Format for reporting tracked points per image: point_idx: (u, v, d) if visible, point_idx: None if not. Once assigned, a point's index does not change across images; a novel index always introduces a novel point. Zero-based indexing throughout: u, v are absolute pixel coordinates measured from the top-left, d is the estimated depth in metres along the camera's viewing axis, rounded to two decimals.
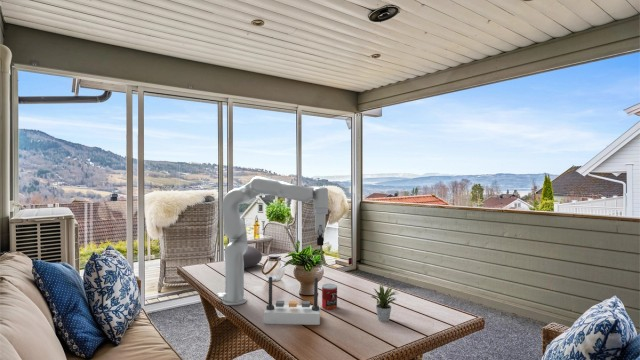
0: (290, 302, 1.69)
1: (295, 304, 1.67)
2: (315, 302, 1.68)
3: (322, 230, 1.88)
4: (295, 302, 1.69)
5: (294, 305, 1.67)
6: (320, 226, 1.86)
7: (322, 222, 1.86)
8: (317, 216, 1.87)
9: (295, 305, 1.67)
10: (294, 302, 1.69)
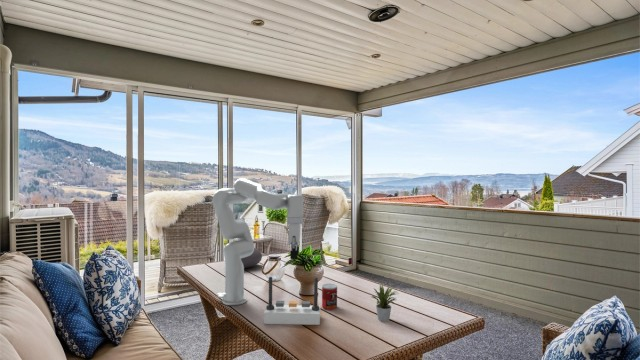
0: (290, 302, 1.69)
1: (295, 304, 1.67)
2: (315, 302, 1.68)
3: (296, 242, 1.70)
4: (295, 302, 1.69)
5: (294, 305, 1.67)
6: (294, 238, 1.68)
7: (296, 233, 1.69)
8: (290, 226, 1.69)
9: (295, 305, 1.67)
10: (294, 302, 1.69)
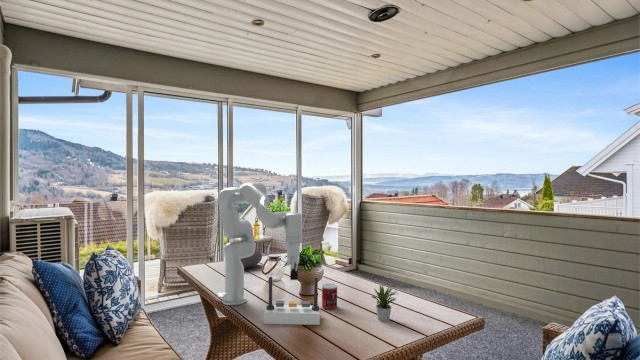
0: (290, 302, 1.69)
1: (295, 304, 1.67)
2: (315, 302, 1.68)
3: (295, 263, 1.66)
4: (295, 302, 1.69)
5: (294, 305, 1.67)
6: (293, 261, 1.64)
7: (295, 253, 1.64)
8: (289, 246, 1.64)
9: (295, 305, 1.67)
10: (294, 302, 1.69)
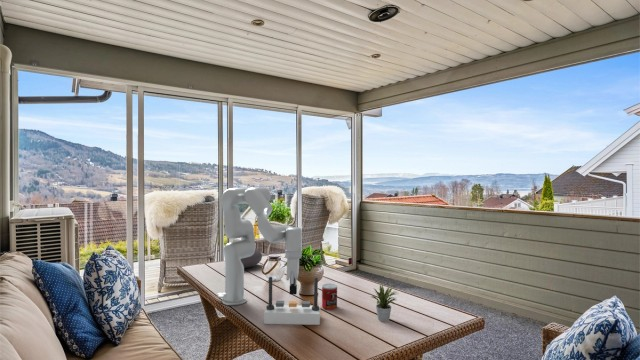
0: (290, 302, 1.69)
1: (295, 304, 1.67)
2: (315, 302, 1.68)
3: (295, 278, 1.67)
4: (295, 302, 1.69)
5: (294, 305, 1.67)
6: (292, 276, 1.64)
7: (294, 268, 1.64)
8: (289, 261, 1.64)
9: (295, 305, 1.67)
10: (294, 302, 1.69)
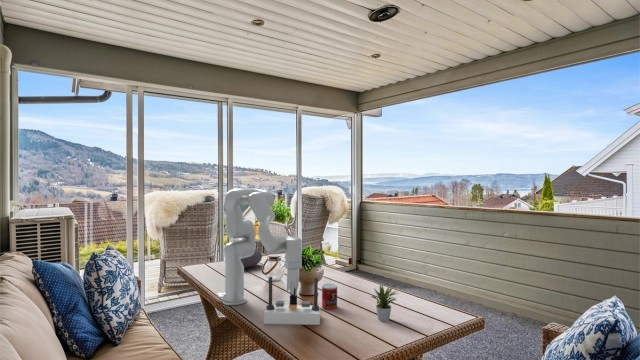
0: None
1: (295, 306, 1.67)
2: (315, 302, 1.68)
3: (295, 288, 1.67)
4: None
5: (294, 307, 1.67)
6: (292, 286, 1.64)
7: (294, 279, 1.64)
8: (289, 272, 1.64)
9: (295, 307, 1.67)
10: None
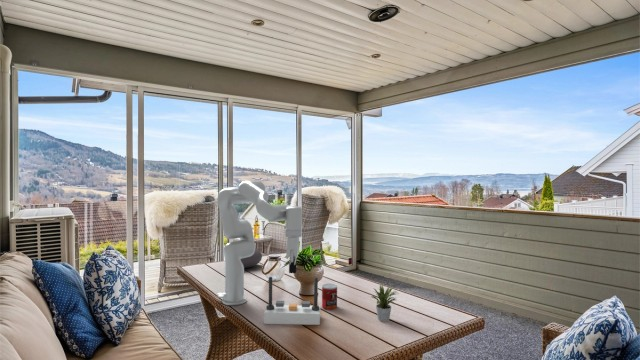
0: (290, 305, 1.69)
1: (295, 307, 1.67)
2: (315, 302, 1.68)
3: (294, 257, 1.67)
4: (295, 305, 1.69)
5: (294, 308, 1.67)
6: (292, 254, 1.64)
7: (294, 247, 1.64)
8: (289, 240, 1.64)
9: (295, 308, 1.67)
10: (294, 305, 1.69)
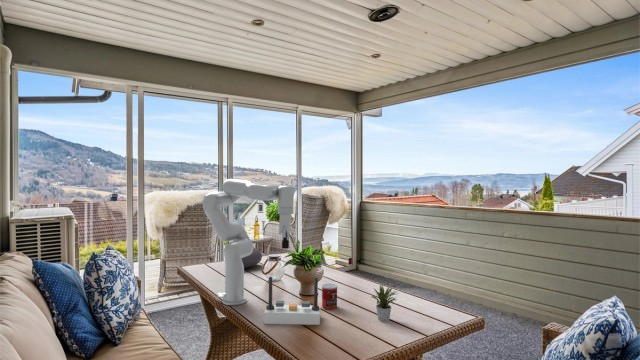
0: (290, 305, 1.69)
1: (295, 307, 1.67)
2: (315, 302, 1.68)
3: (287, 233, 1.77)
4: (295, 305, 1.69)
5: (294, 308, 1.67)
6: (284, 230, 1.75)
7: (286, 223, 1.75)
8: (281, 216, 1.75)
9: (295, 308, 1.67)
10: (294, 305, 1.69)
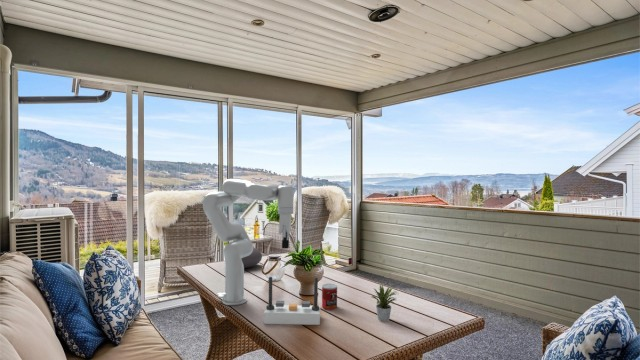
0: (290, 305, 1.69)
1: (295, 307, 1.67)
2: (315, 302, 1.68)
3: (287, 233, 1.77)
4: (295, 305, 1.69)
5: (294, 308, 1.67)
6: (284, 230, 1.75)
7: (286, 223, 1.75)
8: (281, 216, 1.75)
9: (295, 308, 1.67)
10: (294, 305, 1.69)
